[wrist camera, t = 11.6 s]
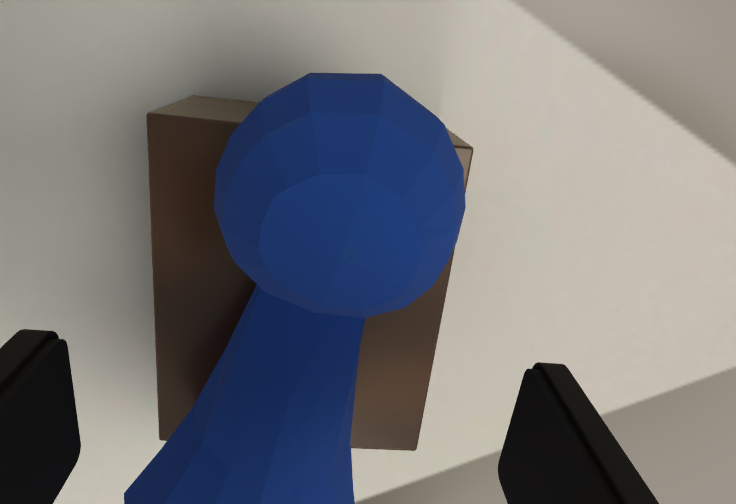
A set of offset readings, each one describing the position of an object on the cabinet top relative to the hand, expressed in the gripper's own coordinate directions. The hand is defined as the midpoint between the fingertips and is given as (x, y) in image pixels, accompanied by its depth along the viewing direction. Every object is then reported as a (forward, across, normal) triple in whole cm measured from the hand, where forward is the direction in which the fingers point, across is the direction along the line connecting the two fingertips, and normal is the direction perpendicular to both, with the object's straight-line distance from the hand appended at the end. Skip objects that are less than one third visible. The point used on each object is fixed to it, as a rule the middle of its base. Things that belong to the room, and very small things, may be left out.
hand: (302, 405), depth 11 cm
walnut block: (+11, 0, +1) cm, 11 cm away
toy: (+6, 0, +1) cm, 6 cm away
